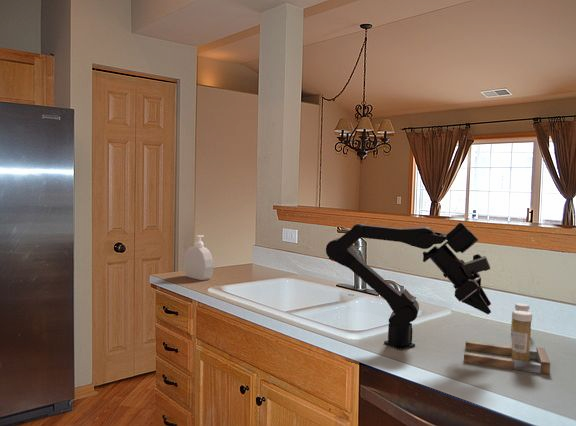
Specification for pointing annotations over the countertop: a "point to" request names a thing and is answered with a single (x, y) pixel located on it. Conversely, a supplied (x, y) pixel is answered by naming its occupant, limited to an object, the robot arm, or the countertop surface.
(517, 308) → the supplement bottle
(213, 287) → the countertop surface
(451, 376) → the countertop surface
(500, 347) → the walnut slot
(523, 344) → the sprinkles bottle
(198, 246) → the soap bottle
